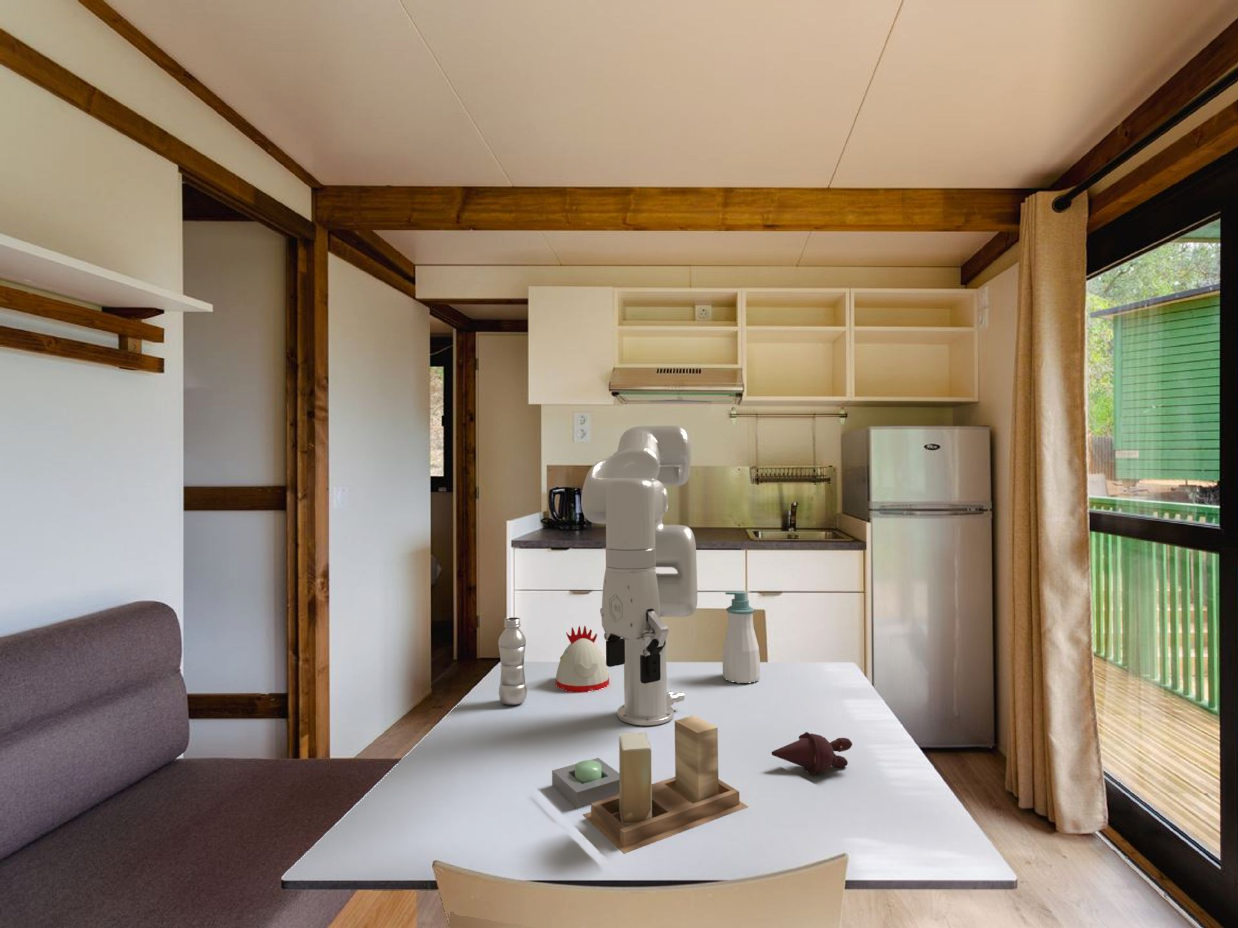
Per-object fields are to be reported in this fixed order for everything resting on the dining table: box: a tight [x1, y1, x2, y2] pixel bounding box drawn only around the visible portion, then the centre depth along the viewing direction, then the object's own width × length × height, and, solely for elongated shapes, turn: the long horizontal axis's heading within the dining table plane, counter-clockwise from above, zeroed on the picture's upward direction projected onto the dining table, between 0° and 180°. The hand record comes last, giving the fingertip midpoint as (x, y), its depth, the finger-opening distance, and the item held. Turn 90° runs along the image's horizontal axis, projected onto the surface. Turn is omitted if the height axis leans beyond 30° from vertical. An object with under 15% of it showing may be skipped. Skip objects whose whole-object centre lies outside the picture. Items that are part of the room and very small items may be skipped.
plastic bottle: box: [498, 616, 528, 706], centre depth 148 cm, size 6×7×20 cm
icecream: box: [771, 731, 853, 776], centre depth 111 cm, size 7×7×15 cm
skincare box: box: [618, 731, 653, 827], centre depth 93 cm, size 6×4×12 cm
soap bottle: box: [722, 591, 761, 684], centre depth 165 cm, size 10×10×23 cm
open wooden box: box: [582, 776, 749, 854], centre depth 96 cm, size 23×12×3 cm, turn 121°
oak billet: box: [674, 715, 719, 804], centre depth 99 cm, size 4×6×12 cm, turn 32°
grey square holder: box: [551, 757, 619, 810], centre depth 103 cm, size 9×9×4 cm
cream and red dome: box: [555, 625, 610, 693], centre depth 162 cm, size 14×14×15 cm
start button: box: [575, 759, 601, 784], centre depth 103 cm, size 4×4×4 cm
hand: (632, 672), depth 94 cm, fingers open, 9 cm apart
